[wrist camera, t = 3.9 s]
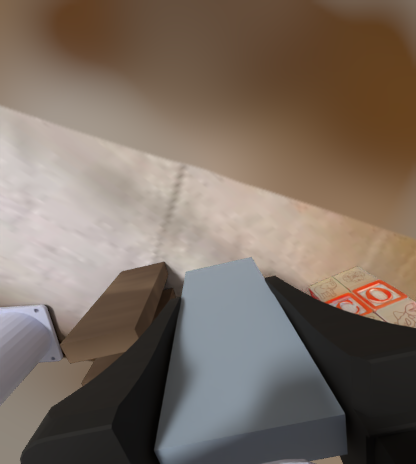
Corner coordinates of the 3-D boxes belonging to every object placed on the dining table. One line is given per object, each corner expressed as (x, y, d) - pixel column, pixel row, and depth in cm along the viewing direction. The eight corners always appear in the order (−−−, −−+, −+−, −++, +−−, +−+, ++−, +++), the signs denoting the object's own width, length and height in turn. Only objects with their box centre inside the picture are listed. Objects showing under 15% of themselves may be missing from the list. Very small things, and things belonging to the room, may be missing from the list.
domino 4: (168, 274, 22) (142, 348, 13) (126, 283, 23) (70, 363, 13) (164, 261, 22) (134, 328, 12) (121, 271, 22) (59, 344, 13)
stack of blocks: (305, 286, 24) (408, 398, 12) (356, 264, 23) (520, 359, 11) (351, 401, 29) (453, 557, 17) (393, 386, 28) (529, 537, 17)
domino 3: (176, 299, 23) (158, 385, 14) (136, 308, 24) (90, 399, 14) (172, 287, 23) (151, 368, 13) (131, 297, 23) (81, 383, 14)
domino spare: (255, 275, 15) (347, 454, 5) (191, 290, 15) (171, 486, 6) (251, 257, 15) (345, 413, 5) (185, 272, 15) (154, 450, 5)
